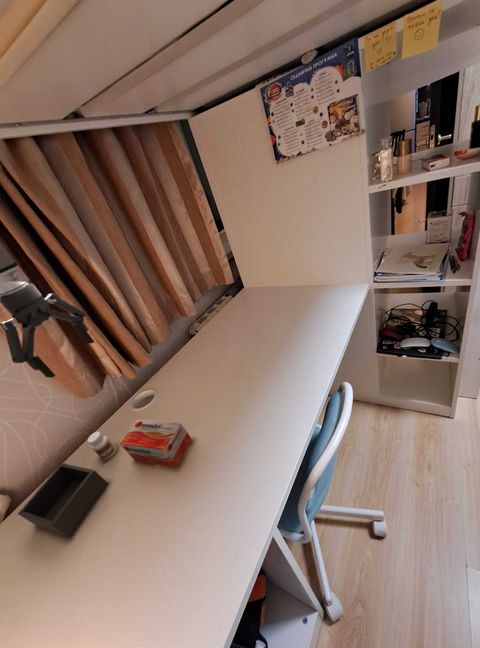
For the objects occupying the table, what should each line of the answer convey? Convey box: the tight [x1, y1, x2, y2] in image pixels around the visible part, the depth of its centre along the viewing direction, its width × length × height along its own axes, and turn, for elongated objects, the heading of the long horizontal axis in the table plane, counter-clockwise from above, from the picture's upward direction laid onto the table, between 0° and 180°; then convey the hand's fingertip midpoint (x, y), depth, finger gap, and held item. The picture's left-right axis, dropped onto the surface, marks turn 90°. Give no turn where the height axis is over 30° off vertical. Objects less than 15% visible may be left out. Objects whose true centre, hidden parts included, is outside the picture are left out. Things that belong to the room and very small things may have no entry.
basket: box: [17, 462, 110, 539], centre depth 71 cm, size 13×13×6 cm
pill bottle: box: [87, 431, 117, 460], centre depth 81 cm, size 4×4×8 cm
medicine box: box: [119, 419, 193, 468], centre depth 76 cm, size 15×8×8 cm, turn 73°
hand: (72, 358), depth 78 cm, fingers open, 13 cm apart
